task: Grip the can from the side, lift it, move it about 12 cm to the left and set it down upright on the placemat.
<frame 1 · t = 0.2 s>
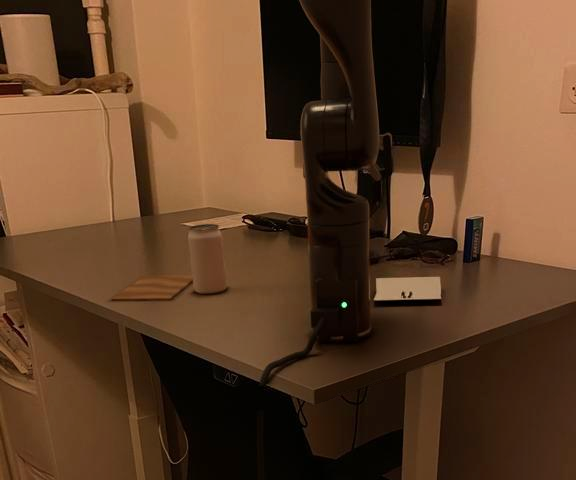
hand: (349, 205, 129), 17 cm above the table, tool pointing down, fingers open, 8 cm apart
placemat: (156, 288, 160), on the table
folded paper: (407, 297, 143), on the table
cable: (351, 263, 170), on the table
can: (210, 291, 156), on the table
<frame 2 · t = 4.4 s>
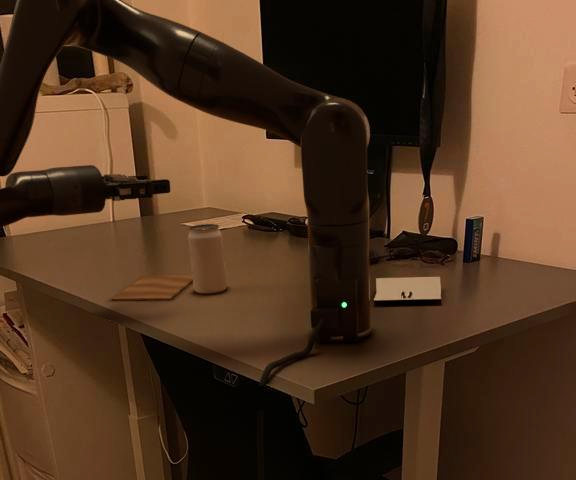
hand: (158, 183, 141), 21 cm above the table, tool horizontal, fingers open, 8 cm apart
nothing on the table moved.
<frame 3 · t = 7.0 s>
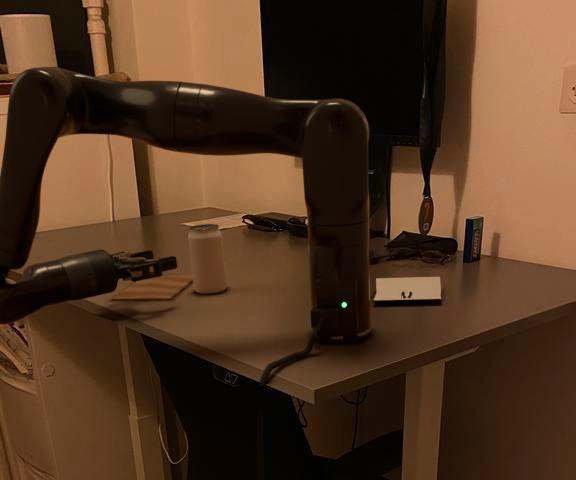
hand: (163, 258, 147), 8 cm above the table, tool horizontal, fingers open, 8 cm apart
nothing on the table moved.
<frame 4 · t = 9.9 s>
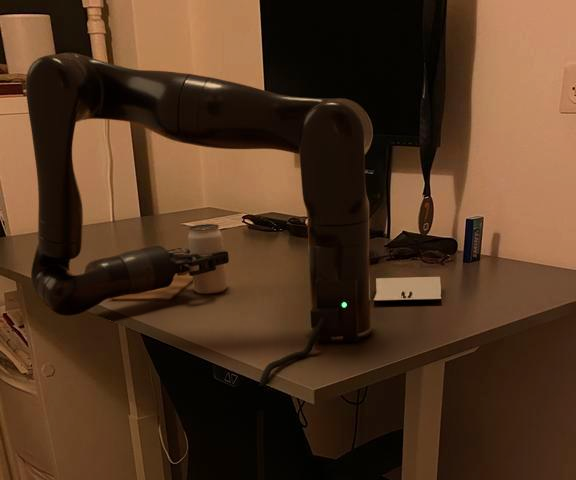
hand: (216, 254, 154), 6 cm above the table, tool horizontal, fingers closed on can, 6 cm apart
can: (210, 291, 156), on the table, touching gripper
everything else where it was.
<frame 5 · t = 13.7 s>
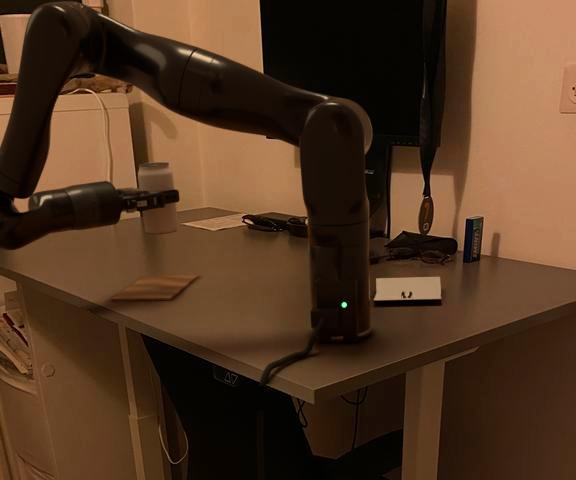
hand: (168, 194, 151), 18 cm above the table, tool horizontal, fingers closed on can, 6 cm apart
can: (162, 232, 153), point 11 cm above the table, touching gripper
everything else where it was.
when the fingers open (7 cm above the table, at t = 17.6 s): can stays where it is, resting on placemat.
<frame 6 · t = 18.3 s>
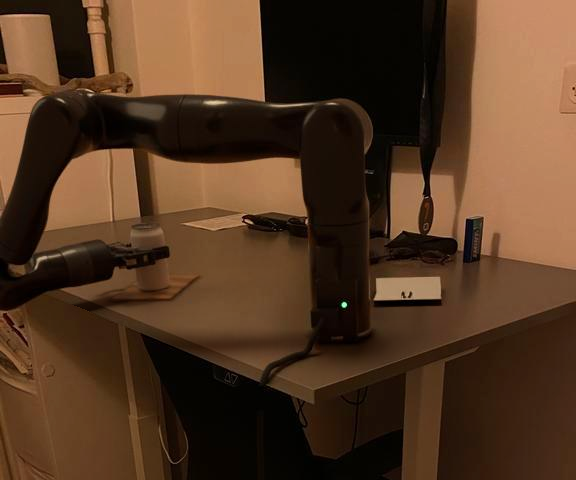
hand: (157, 248, 156), 8 cm above the table, tool horizontal, fingers open, 8 cm apart
can: (154, 288, 159), resting on placemat
everything else where it was.
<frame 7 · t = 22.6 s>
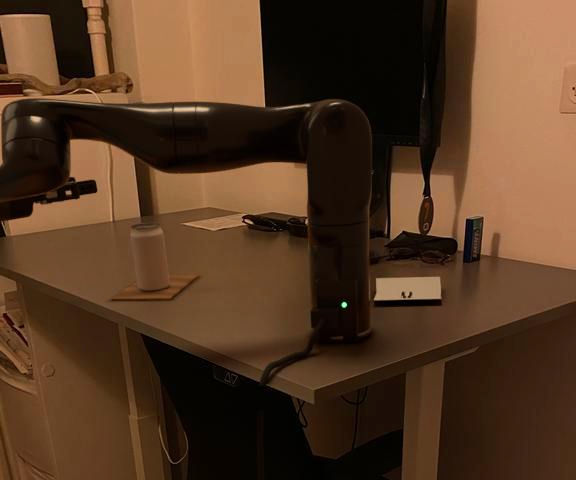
hand: (85, 184, 143), 21 cm above the table, tool horizontal, fingers open, 8 cm apart
nothing on the table moved.
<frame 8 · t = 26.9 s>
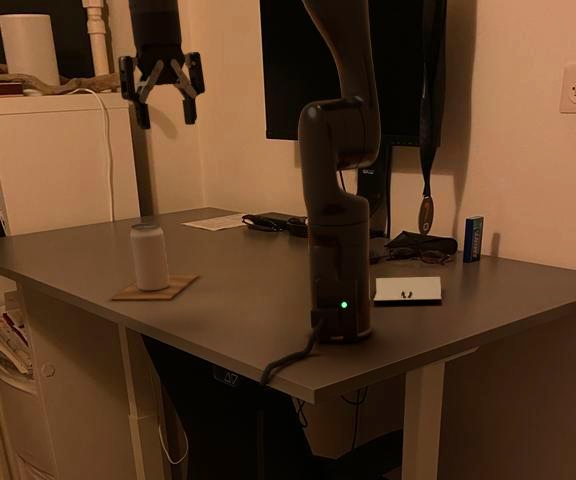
hand: (168, 126, 130), 30 cm above the table, tool pointing down, fingers open, 8 cm apart
nothing on the table moved.
at the end: can inside the target area on the placemat (1.1 cm from its centre), point 0.2 cm above the placemat's base; can tilted 0°; the gripper is holding nothing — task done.
